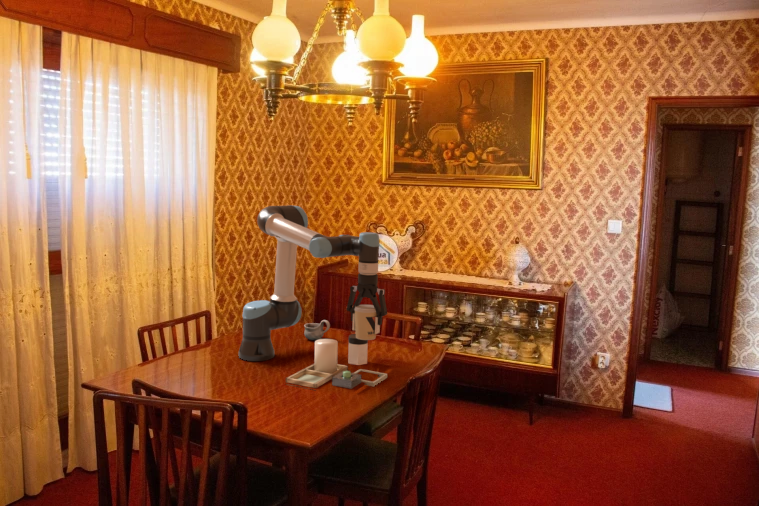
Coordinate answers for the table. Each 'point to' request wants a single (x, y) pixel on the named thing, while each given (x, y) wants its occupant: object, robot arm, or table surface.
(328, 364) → the billet
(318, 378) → the tray
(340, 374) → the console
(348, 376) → the button
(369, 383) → the beige square frame
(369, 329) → the coffee cup
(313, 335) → the mug
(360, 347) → the jar
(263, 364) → the table surface
